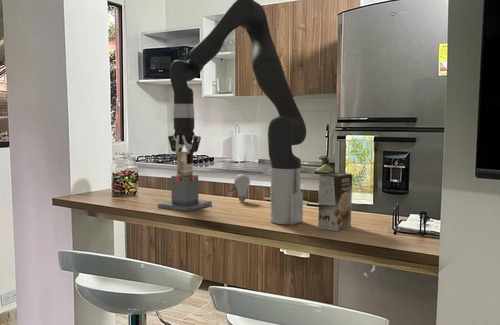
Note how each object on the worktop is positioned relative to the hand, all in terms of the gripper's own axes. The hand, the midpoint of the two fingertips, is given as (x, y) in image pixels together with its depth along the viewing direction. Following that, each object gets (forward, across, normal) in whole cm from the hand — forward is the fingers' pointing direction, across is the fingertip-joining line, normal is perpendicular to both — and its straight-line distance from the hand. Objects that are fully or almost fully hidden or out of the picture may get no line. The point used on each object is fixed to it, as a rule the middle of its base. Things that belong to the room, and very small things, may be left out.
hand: (184, 163), depth 166 cm
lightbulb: (+16, -13, -19) cm, 28 cm away
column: (+11, 0, 0) cm, 11 cm away
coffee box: (+16, -59, +2) cm, 61 cm away
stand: (+16, 0, 0) cm, 16 cm away
